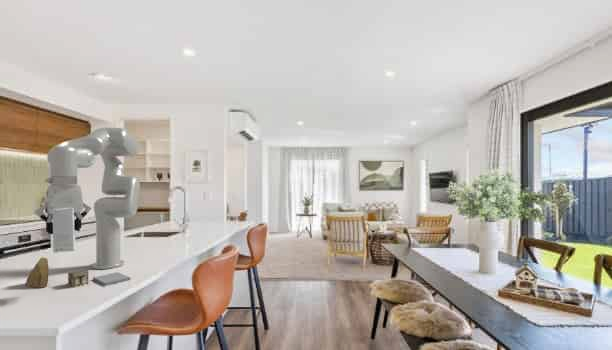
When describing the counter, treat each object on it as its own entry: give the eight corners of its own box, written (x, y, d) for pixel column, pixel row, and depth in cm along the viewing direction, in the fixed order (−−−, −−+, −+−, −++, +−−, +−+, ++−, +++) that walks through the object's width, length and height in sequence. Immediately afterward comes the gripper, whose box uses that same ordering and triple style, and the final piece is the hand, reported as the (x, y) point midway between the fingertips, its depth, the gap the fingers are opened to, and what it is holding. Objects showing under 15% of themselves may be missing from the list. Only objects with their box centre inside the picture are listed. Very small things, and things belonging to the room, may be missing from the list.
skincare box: (74, 251, 110) (74, 208, 110) (51, 253, 107) (52, 209, 107) (75, 246, 117) (75, 206, 117) (54, 248, 114) (54, 207, 114)
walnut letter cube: (68, 285, 121) (68, 271, 121) (83, 281, 125) (83, 268, 125) (73, 288, 118) (73, 274, 118) (88, 284, 122) (88, 271, 122)
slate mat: (92, 280, 127) (92, 277, 127) (117, 274, 134) (117, 272, 134) (105, 285, 119) (105, 283, 119) (130, 279, 127) (130, 277, 127)
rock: (55, 280, 119) (60, 270, 128) (37, 264, 116) (43, 255, 125) (26, 301, 116) (33, 289, 124) (6, 285, 113) (15, 274, 121)
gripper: (35, 182, 103) (35, 237, 103) (96, 181, 117) (96, 229, 117) (29, 182, 108) (29, 234, 108) (88, 181, 122) (88, 228, 121)
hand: (64, 231), depth 112 cm, fingers closed on skincare box, 7 cm apart
